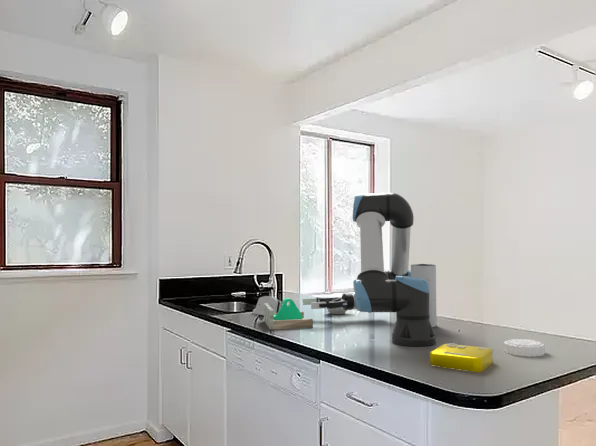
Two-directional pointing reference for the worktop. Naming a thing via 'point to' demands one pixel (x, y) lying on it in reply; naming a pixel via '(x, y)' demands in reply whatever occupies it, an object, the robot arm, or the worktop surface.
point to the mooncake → (524, 347)
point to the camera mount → (288, 311)
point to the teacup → (337, 310)
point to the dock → (284, 321)
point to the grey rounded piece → (271, 301)
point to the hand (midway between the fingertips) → (306, 303)
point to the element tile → (461, 357)
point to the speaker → (430, 275)
